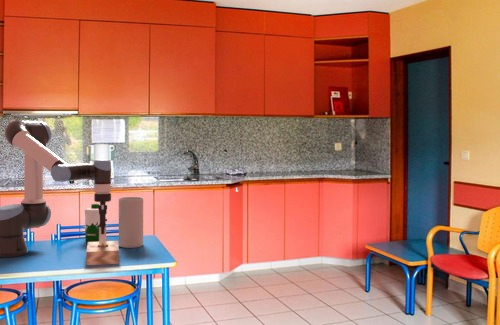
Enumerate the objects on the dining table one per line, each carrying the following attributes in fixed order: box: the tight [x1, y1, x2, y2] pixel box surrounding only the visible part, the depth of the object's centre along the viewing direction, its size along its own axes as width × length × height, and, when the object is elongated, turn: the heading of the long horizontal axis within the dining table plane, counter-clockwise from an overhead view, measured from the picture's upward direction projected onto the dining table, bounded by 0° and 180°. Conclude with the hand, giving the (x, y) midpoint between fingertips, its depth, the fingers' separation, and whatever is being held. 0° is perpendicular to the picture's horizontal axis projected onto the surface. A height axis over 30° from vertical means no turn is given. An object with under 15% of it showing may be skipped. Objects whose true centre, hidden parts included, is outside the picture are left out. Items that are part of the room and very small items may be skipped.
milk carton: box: [84, 203, 100, 243], centre depth 273 cm, size 9×9×20 cm
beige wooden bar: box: [99, 225, 107, 247], centre depth 235 cm, size 3×3×16 cm
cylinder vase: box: [118, 196, 144, 249], centre depth 263 cm, size 12×12×25 cm
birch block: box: [85, 240, 120, 266], centre depth 235 cm, size 14×22×6 cm, turn 16°
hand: (102, 238), depth 234 cm, fingers open, 13 cm apart
